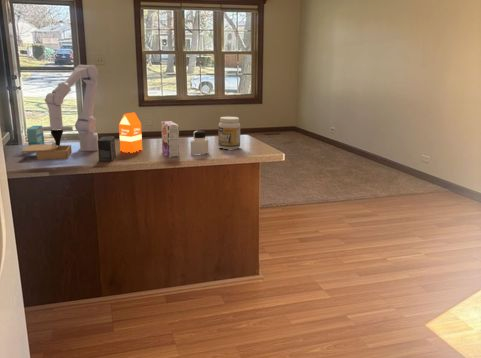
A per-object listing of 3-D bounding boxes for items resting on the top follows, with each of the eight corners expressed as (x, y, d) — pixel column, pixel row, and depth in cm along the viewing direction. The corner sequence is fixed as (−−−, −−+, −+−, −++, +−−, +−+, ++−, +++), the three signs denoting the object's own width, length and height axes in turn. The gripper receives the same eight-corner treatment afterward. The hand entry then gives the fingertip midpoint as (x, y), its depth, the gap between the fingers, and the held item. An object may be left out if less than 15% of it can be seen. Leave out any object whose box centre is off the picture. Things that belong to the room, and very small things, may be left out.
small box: (102, 156, 226) (101, 136, 223) (116, 156, 226) (114, 136, 223) (98, 161, 215) (96, 140, 213) (112, 161, 216) (110, 140, 213)
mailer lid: (59, 145, 231) (59, 139, 230) (54, 151, 217) (54, 145, 217) (29, 145, 228) (28, 140, 227) (22, 152, 214) (21, 145, 214)
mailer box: (71, 152, 233) (71, 145, 232) (67, 158, 220) (66, 150, 219) (42, 153, 230) (42, 145, 229) (36, 159, 217) (35, 151, 216)
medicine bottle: (208, 152, 238) (208, 130, 235) (203, 155, 231) (202, 132, 228) (196, 151, 240) (195, 129, 237) (190, 154, 234) (190, 131, 230)
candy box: (161, 152, 238) (160, 121, 233) (172, 151, 240) (171, 120, 235) (168, 157, 226) (167, 125, 221) (179, 157, 228) (179, 124, 223)
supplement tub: (214, 149, 247) (214, 118, 243) (223, 145, 258) (223, 115, 254) (235, 151, 243) (235, 119, 238) (243, 147, 254) (244, 117, 249)
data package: (38, 151, 234) (35, 128, 231) (28, 151, 234) (26, 128, 230) (44, 147, 246) (42, 125, 242) (36, 147, 245) (33, 125, 242)
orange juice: (142, 150, 242) (140, 112, 237) (132, 153, 235) (130, 114, 229) (130, 148, 245) (128, 111, 240) (120, 151, 238) (117, 113, 232)
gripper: (38, 119, 215) (41, 147, 219) (70, 118, 218) (72, 146, 222) (41, 117, 222) (44, 144, 225) (72, 116, 225) (74, 143, 228)
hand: (58, 145), depth 224 cm, fingers closed
